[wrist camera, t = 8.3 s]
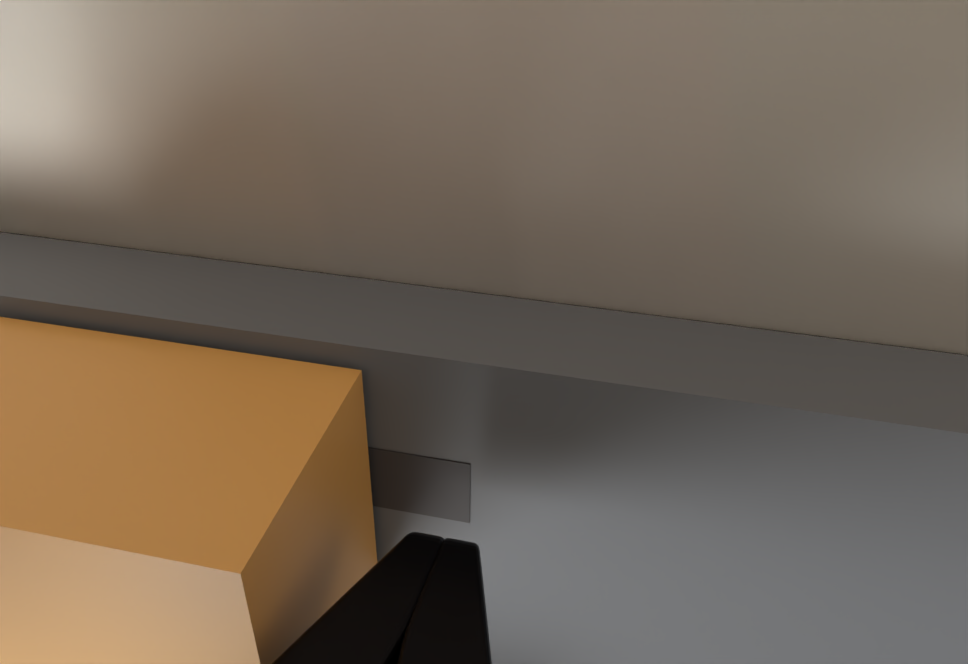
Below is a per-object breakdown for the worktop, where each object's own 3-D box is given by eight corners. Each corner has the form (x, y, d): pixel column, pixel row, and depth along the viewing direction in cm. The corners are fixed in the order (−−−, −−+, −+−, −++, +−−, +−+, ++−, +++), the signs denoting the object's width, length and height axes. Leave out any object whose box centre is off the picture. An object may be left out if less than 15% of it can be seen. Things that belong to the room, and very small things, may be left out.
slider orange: (361, 370, 9) (240, 574, 7) (378, 575, 11) (288, 791, 9) (-19, 314, 10) (-247, 477, 8) (57, 513, 12) (-106, 694, 10)
